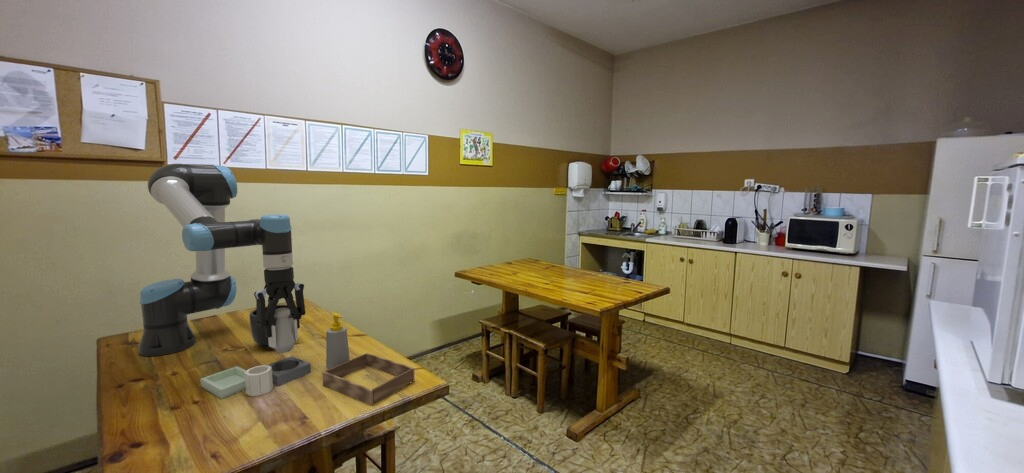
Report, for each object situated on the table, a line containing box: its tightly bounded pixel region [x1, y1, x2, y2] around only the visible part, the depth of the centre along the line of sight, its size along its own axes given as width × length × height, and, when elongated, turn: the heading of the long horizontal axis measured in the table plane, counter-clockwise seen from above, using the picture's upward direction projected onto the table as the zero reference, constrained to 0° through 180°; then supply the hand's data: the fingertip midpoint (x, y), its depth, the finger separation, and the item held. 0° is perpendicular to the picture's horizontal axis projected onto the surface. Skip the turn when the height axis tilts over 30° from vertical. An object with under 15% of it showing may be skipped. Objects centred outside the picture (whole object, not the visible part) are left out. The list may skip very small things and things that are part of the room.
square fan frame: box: [267, 355, 312, 387], centre depth 121 cm, size 10×10×3 cm
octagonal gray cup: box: [245, 364, 274, 397], centre depth 112 cm, size 6×6×6 cm
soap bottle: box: [325, 312, 351, 370], centre depth 125 cm, size 7×7×18 cm
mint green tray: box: [199, 365, 248, 400], centre depth 115 cm, size 12×10×2 cm
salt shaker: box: [273, 308, 296, 354], centre depth 120 cm, size 6×6×13 cm
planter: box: [249, 304, 293, 350], centre depth 143 cm, size 14×14×13 cm
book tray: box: [321, 352, 416, 407], centre depth 117 cm, size 21×16×4 cm
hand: (283, 343), depth 120 cm, fingers closed on salt shaker, 6 cm apart
